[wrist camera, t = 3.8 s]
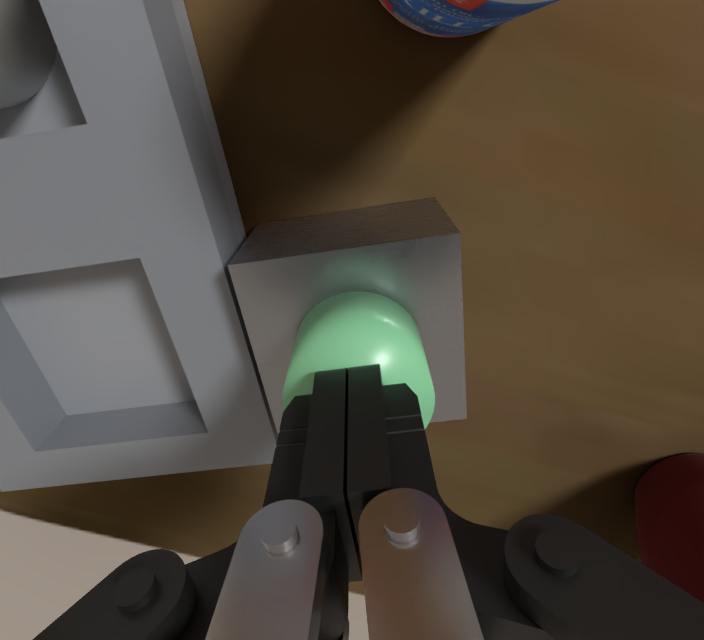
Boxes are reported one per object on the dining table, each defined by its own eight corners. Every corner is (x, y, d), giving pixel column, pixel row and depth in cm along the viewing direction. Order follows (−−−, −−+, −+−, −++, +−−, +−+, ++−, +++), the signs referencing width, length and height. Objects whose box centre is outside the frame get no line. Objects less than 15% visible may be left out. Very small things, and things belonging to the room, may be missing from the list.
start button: (415, 282, 12) (430, 328, 9) (425, 391, 13) (439, 452, 11) (282, 300, 12) (266, 349, 10) (308, 404, 14) (299, 466, 11)
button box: (434, 197, 15) (460, 232, 11) (444, 350, 17) (466, 418, 14) (257, 223, 15) (227, 265, 11) (294, 368, 18) (279, 439, 14)
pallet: (98, -317, 10) (-1, -473, 7) (292, 409, 19) (282, 462, 16) (-345, -206, 10) (-586, -306, 8) (49, 436, 20) (1, 491, 17)
